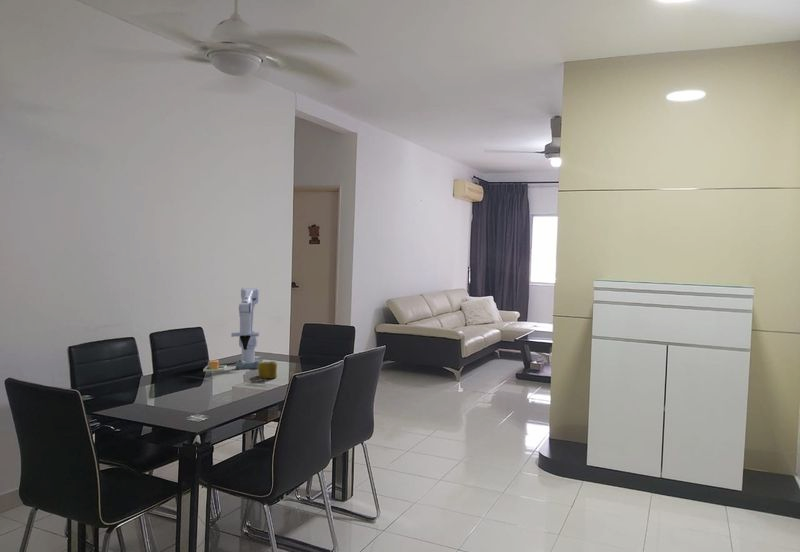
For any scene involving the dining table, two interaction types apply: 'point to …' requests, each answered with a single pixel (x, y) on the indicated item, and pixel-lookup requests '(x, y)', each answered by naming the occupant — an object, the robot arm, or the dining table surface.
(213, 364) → the block
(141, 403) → the dining table surface
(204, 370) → the tray
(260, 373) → the mug
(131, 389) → the dining table surface
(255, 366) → the crank
